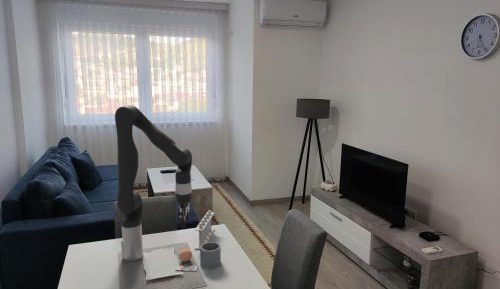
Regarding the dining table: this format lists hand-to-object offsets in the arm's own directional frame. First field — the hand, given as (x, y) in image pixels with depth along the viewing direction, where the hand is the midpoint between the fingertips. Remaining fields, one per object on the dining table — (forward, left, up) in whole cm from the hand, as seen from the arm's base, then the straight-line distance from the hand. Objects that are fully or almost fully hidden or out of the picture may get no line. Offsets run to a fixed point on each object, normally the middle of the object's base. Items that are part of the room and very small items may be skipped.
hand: (184, 223), depth 166 cm
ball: (0, 0, -16) cm, 16 cm away
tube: (+12, -2, -19) cm, 23 cm away
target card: (+2, -7, -19) cm, 21 cm away
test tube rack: (+6, +24, -20) cm, 32 cm away
